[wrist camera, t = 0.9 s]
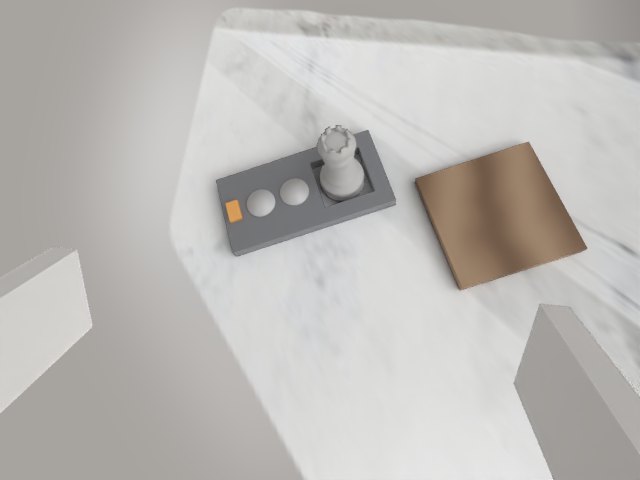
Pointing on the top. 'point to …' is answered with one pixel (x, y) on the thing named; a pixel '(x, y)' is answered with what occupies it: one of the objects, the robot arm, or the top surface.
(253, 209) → the gray slotted board
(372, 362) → the top surface
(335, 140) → the rook chess piece
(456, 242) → the walnut pad
